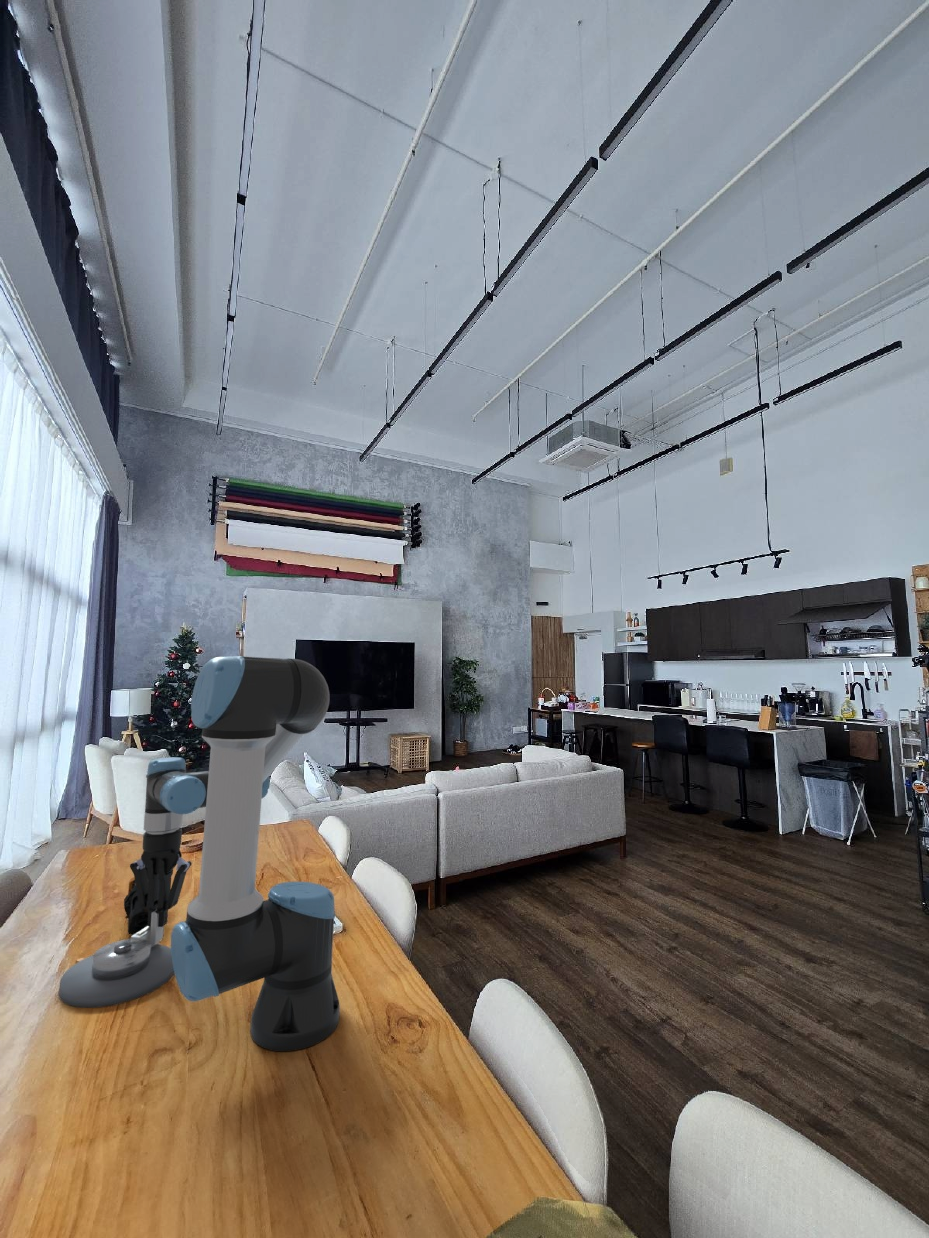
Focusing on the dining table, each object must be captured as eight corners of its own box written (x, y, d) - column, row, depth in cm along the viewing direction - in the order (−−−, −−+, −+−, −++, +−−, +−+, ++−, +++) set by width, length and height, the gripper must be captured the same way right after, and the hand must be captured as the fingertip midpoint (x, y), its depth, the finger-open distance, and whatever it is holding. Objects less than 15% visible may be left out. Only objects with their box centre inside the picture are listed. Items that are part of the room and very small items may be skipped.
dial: (126, 981, 105) (128, 957, 105) (78, 977, 106) (80, 953, 107) (177, 943, 120) (178, 922, 121) (135, 939, 121) (136, 919, 122)
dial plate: (202, 973, 112) (202, 963, 113) (73, 1021, 96) (74, 1009, 96) (162, 937, 127) (162, 928, 128) (45, 973, 111) (46, 963, 111)
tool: (119, 969, 127) (123, 915, 123) (123, 897, 145) (127, 849, 142) (159, 960, 131) (164, 908, 127) (158, 892, 150) (162, 845, 146)
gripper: (200, 825, 124) (194, 934, 122) (146, 824, 125) (139, 932, 123) (181, 835, 117) (174, 951, 114) (123, 833, 118) (116, 948, 115)
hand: (156, 941), depth 119 cm, fingers closed
